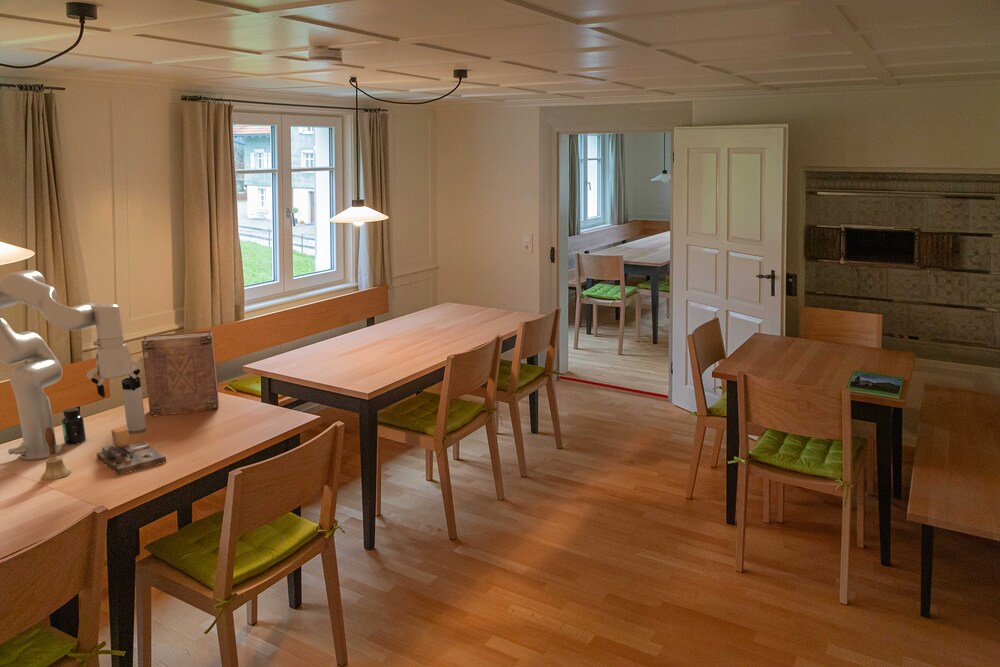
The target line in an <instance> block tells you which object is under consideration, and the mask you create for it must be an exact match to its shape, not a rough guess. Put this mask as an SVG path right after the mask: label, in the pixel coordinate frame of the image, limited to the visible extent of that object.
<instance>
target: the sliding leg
mask: <svg viewBox="0 0 1000 667" xmlns="http://www.w3.org/2000/svg"><path fill="white" fill-rule="evenodd" d="M111 436H112V444H113V446H114V447H115V448H117V452H119V453H120V454H122V453H128V454H129V455H130V459H132V458H133V455H134V451H132V450H131V449H130V448H129V445H131V441H130V440H131V439H130V433H129V431H128V429H127V427H125V426H121V427H118V428H114V429H111Z"/></svg>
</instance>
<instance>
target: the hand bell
mask: <svg viewBox="0 0 1000 667" xmlns="http://www.w3.org/2000/svg"><path fill="white" fill-rule="evenodd" d="M54 432H55V431H54ZM54 432H53V431H52V429H51V427H47V428H46V433H45V438H46V441H47V444H48V446H49V450H50V457H48V458H46V460H45V465H46V466H45V470H44V472H43V473H42V476H41V479H43V480H45V481H47V480H50V481H51V480H59V479H62V477H63V478H65V477H67V476H70V474H71V473H72V470H71V469H70V468H68V466H66V465H65V463H64V460H63V458H62V456H58V454H57V455H56V452H55V446H54V444H55V439H56V434H55V435H54Z"/></svg>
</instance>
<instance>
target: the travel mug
mask: <svg viewBox="0 0 1000 667" xmlns="http://www.w3.org/2000/svg"><path fill="white" fill-rule="evenodd" d="M135 379H136V387H135V391H133V390H131V389H130V385H129V377H126V378H124V379H122V380H121V386H122V389H121V390H122V396H123V405H124V412H125V413H124V414H125V421H126V429H128V431H129V434H132V433H135V434H140V432H141V433H143V431H144V432H146V431H147V424H146V416H145V407H144V400H143V399H144V398H143V390H142V384H141V378H140V377H139V376H138V375H137V378H135Z"/></svg>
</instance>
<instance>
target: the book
mask: <svg viewBox="0 0 1000 667" xmlns="http://www.w3.org/2000/svg"><path fill="white" fill-rule="evenodd" d="M143 338H144V339H143V340H141V349H142V358H143V366H144V374H145V382H146V390H147V391H146V392H147V400H148V408H149V416H151V417H155V416H154V415H159V416H164V415H163V414H168V415H174V414H173V413H177V414H184V413H185V412H187V413H195V412H203V411H204V410H206V411H214V410H219V405H220V400H219V399H220V398H219V397H220V396H219V390H218V376H217V367H216V358H215V357H216V356H215V355H216V354H215V348H214V347H215V346H214V332H213V331H212V330H206V331H194V332H179V333H178V332H177V333H164V334H151V335H144V337H143ZM185 414H186V413H185Z"/></svg>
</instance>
